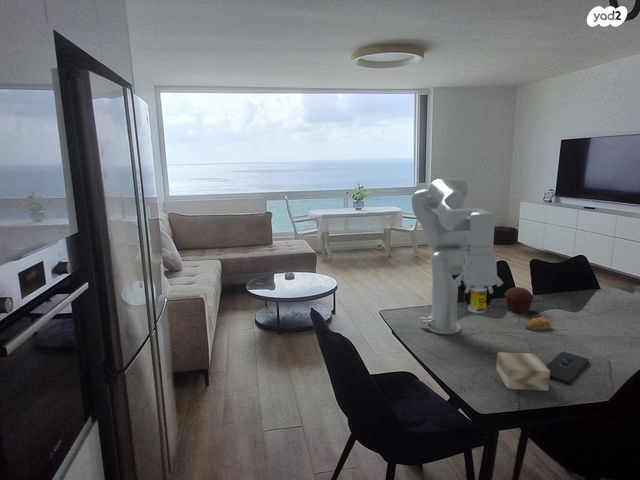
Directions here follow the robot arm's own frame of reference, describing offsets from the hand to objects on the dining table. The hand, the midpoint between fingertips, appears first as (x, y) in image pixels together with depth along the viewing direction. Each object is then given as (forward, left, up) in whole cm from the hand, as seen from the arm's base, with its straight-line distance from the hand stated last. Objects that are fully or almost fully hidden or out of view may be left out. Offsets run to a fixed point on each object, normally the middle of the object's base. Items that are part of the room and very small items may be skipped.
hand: (477, 303), depth 134 cm
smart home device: (+26, -6, -20) cm, 33 cm away
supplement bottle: (0, 0, -3) cm, 3 cm away
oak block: (+10, -14, -19) cm, 26 cm away
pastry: (+31, +27, -19) cm, 46 cm away
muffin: (+30, +47, -19) cm, 59 cm away
